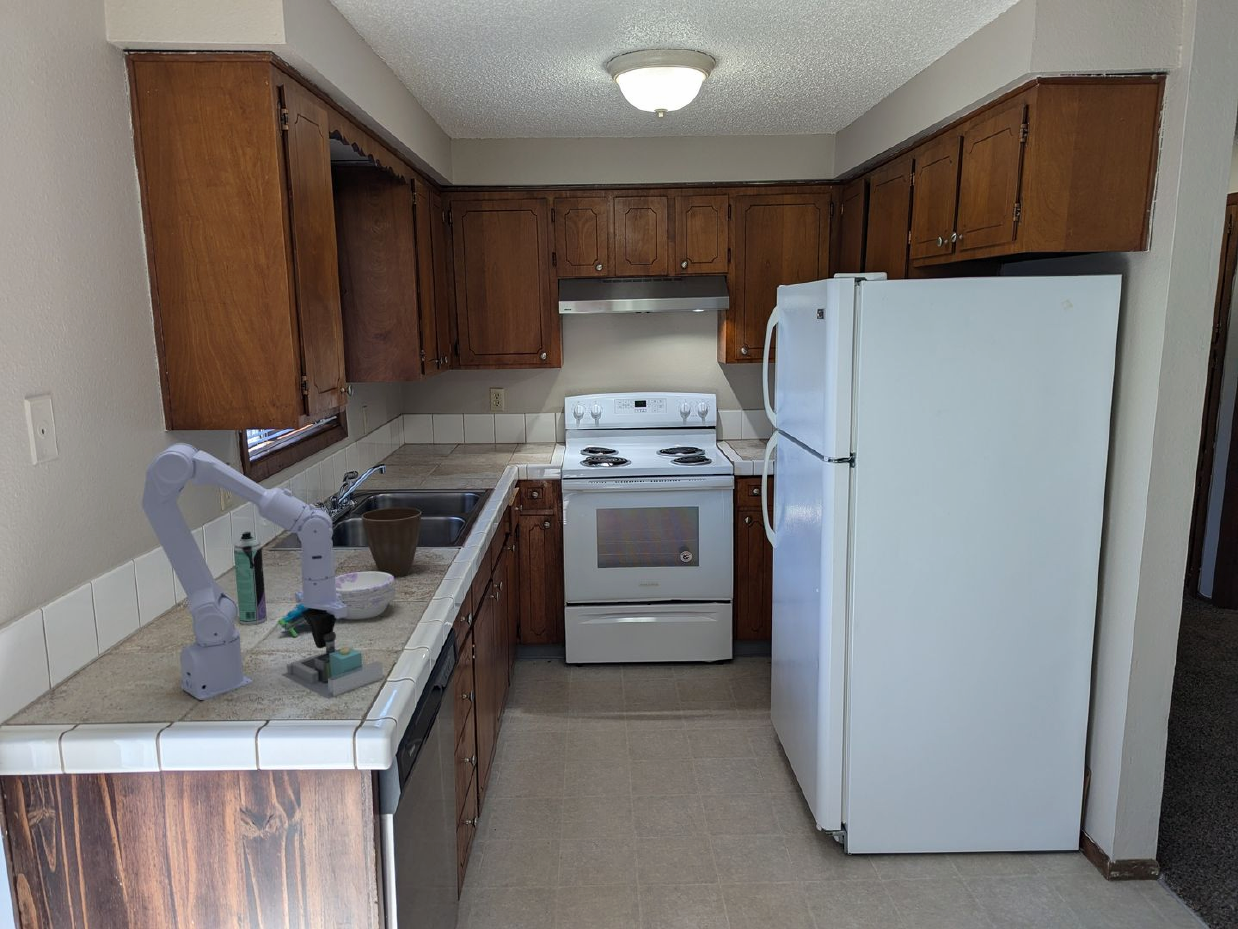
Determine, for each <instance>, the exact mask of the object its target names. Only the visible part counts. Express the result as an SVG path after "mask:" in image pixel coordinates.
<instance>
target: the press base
mask: <svg viewBox="0 0 1238 929" xmlns="http://www.w3.org/2000/svg"><path fill="white" fill-rule="evenodd" d="M335 650H338V648H337V649H336V648H335ZM323 654H326V651H324V652H321V653H318V654H315V655H313V656H309V657H307V658H302V659H300V660H296V661H294V662H290V663H288V664H286V670H287V671H286V672H284V673H282V674H281V676H283V677H285V678H287V679H289V680H291V681H293V682H295V683H296V684H299V685H300V686H303V687H304V688H306V689H308V690H310V691H312V692H314V693H316V694H318V695H320V696H321V697H324V698H326V699H327V700H329V699H332V698H336V697H338V696H341V695H342V694H346V693H349V692H351V691H354V690H356V689H359V688H361V687H364V686H367V685H370V684H372V683H375V682H377V681H380V680H383V679H386V678H388V676H386V675H384V674H383V662H380V661H379V660H376V661H372V662H370V663H367V664H364V665H362V666H361V667H358V668H356V669H353V670H350V671H347V672H344V673H341V674H339V675H336V676H333V677H330V678H328V681H327V682H323V681H321V680H319V677H318V672H317V671H315V657H317V656H320V655H323Z"/></svg>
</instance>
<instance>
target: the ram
mask: <svg viewBox="0 0 1238 929" xmlns="http://www.w3.org/2000/svg"><path fill="white" fill-rule="evenodd" d="M323 638H324V640H325V642H326V647H325V652H326V654H323V655H320V656H317V657H315V671H317V672H318V677H319V680H321V681H323V682H327V681H328V678H330V677H331V673H330V657H329V654H330V653H333V652H336V651H339V650H340V649H341V648H339V649H338V648H337V650H335V649H336V642H335V640H336V639H337V634H336V632H335V631H334V630H333V631H327V632H325V634H324V637H323Z"/></svg>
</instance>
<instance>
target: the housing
mask: <svg viewBox="0 0 1238 929" xmlns="http://www.w3.org/2000/svg"><path fill="white" fill-rule="evenodd" d="M339 649H340V650H339V651H336V652H333V653H330V654H329V657H330V673H331V677H333V676H336V675H339V674H341V673H344V672H347V671H350V670H353V669H356V668H358V667H361V666H363V659H362V658H363V657H362V652H361V651H359V650H356V649H354V648H352V647H349V646H348V647H347V646H345V647H341V648H339Z"/></svg>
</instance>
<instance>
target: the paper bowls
mask: <svg viewBox="0 0 1238 929" xmlns="http://www.w3.org/2000/svg"><path fill="white" fill-rule="evenodd" d="M335 583H336V593H339V594H341V595H342V598H341V599H339V600H340V601H341V602H342V604H344V605H345V606H347V616H345V617H342V619H344V620H354V621H356V620H357V621H358V620H366V619H372V618H375V617H377V616H380V615H381V614H383V613H384V612H385V610H386V609H387V606H388V604H390V603H392V602H393V601H395V599H396V582H395V577H393V576H392V575H391V574H388V573H384V572H379V571H371V570H370V571H358V572H349V573H344V574H341V575H335Z"/></svg>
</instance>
